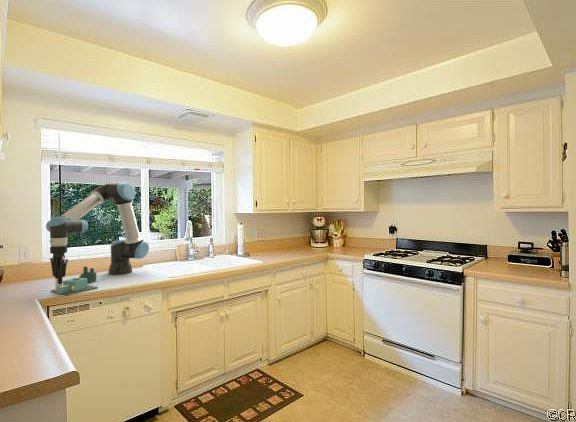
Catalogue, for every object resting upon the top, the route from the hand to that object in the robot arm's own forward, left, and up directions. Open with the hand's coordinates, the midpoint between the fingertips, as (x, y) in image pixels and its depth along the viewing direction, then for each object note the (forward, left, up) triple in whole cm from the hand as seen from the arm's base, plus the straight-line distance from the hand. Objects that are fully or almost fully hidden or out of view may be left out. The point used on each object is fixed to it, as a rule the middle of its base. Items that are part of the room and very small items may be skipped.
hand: (58, 289), depth 171 cm
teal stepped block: (-5, +1, -1) cm, 5 cm away
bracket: (-24, -15, -2) cm, 29 cm away
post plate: (-8, -1, -2) cm, 8 cm away
